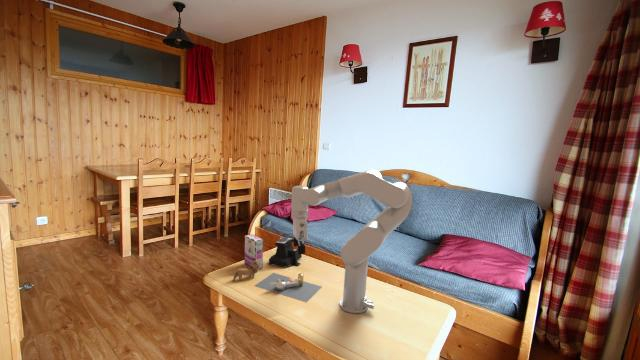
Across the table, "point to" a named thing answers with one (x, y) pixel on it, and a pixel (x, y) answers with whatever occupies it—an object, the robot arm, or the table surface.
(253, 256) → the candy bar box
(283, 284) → the crank handle
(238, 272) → the lion figurine
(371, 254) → the robot arm
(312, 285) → the base plate
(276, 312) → the table surface
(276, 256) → the camera
